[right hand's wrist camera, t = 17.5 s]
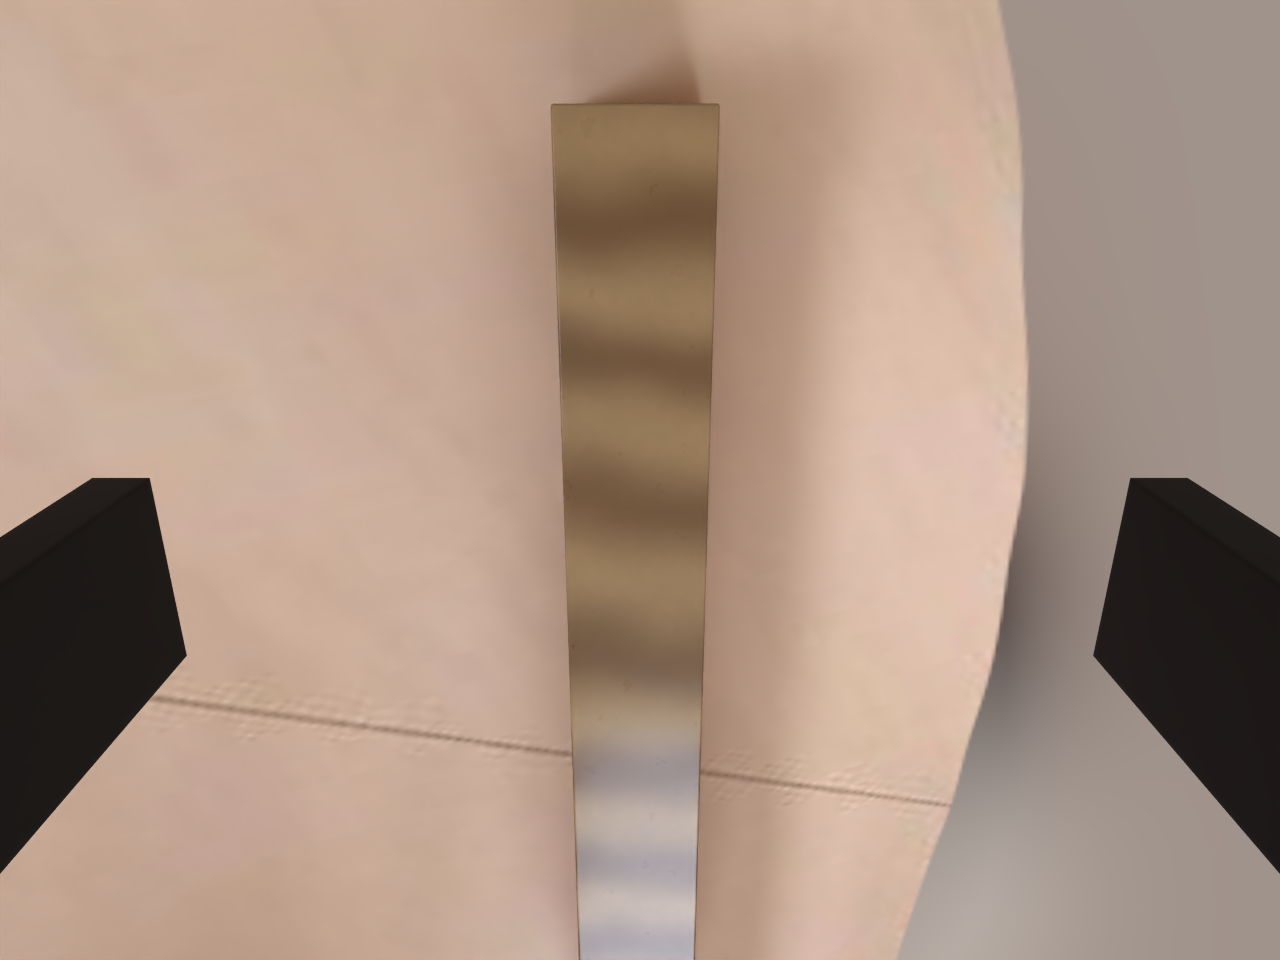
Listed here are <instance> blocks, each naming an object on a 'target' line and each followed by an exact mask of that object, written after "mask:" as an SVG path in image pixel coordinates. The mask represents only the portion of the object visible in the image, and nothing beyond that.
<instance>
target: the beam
mask: <svg viewBox="0 0 1280 960" xmlns="http://www.w3.org/2000/svg"><path fill="white" fill-rule="evenodd" d="M719 114H720V106H719V104H551V130H552V160H553V190H554V220H555V250H556V281H557V311H558V341H559V371H560V401H561V432H562V462H563V492H564V522H565V552H566V583H567V613H568V643H569V673H570V704H571V734H572V764H573V794H574V824H575V855H576V885H577V915H578V945H579V960H695V933H696V899H697V865H698V831H699V796H700V762H701V728H702V694H703V660H704V626H705V592H706V558H707V524H708V489H709V455H710V421H711V387H712V353H713V319H714V285H715V251H716V217H717V183H718V148H719Z"/></svg>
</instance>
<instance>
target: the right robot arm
mask: <svg viewBox="0 0 1280 960" xmlns="http://www.w3.org/2000/svg"><path fill="white" fill-rule="evenodd" d="M186 656H187V655H186V650H185V645H184V640H183V636H182V631H181V626H180V621H179V616H178V612H177V607H176V602H175V597H174V593H173V588H172V583H171V578H170V573H169V569H168V564H167V559H166V554H165V549H164V545H163V540H162V535H161V530H160V526H159V521H158V516H157V511H156V506H155V502H154V497H153V492H152V487H151V482H150V478H92V479H90V480H89V481H87V482H85V483H84V484H82V485H81V486H79V487H78V488H76V489H75V490H73V491H71V492H70V493H68V494H67V495H65V496H64V497H62V498H61V499H59V500H57V501H56V502H54V503H53V504H51V505H50V506H48V507H47V508H45V509H43V510H42V511H40V512H39V513H37V514H36V515H34V516H33V517H31V518H29V519H28V520H26V521H25V522H23V523H22V524H20V525H19V526H17V527H15V528H14V529H12V530H11V531H9V532H8V533H6V534H5V535H3V536H1V537H0V873H1V872H2V871H3V870H4V869H5V867H6V866H7V865H8V864H9V863H10V862H11V860H12V859H13V858H14V857H15V856H16V855H17V853H18V852H19V851H20V850H21V849H22V848H23V846H24V845H25V844H26V843H27V842H28V841H29V839H30V838H31V837H32V836H33V835H34V834H35V832H36V831H37V830H38V829H39V828H40V827H41V825H42V824H43V823H44V822H45V821H46V820H47V818H48V817H49V816H50V815H51V814H52V813H53V811H54V810H55V809H56V808H57V807H58V806H59V804H60V803H61V802H62V801H63V800H64V799H65V797H66V796H67V795H68V794H69V793H70V791H71V790H72V789H73V788H74V787H75V786H76V784H77V783H78V782H79V781H80V780H81V779H82V777H83V776H84V775H85V774H86V773H87V772H88V770H89V769H90V768H91V767H92V766H93V765H94V763H95V762H96V761H97V760H98V759H99V758H100V756H101V755H102V754H103V753H104V752H105V751H106V749H107V748H108V747H109V746H110V745H111V744H112V742H113V741H114V740H115V739H116V738H117V737H118V735H119V734H120V733H121V732H122V731H123V730H124V728H125V727H126V726H127V725H128V724H129V723H130V721H131V720H132V719H133V718H134V717H135V716H136V714H137V713H138V712H139V711H140V710H141V709H142V707H143V706H144V705H145V704H146V703H147V702H148V700H149V699H150V698H151V697H152V696H153V695H154V693H155V692H156V691H157V690H158V689H159V687H160V686H161V685H162V684H163V683H164V682H165V680H166V679H167V678H168V677H169V676H170V675H171V673H172V672H173V671H174V670H175V669H176V668H177V666H178V665H179V664H180V663H181V662H182V661H183V659H184V658H185V657H186ZM1093 656H1094V657H1095V658H1096V659H1097V661H1098V662H1099V663H1100V664H1101V665H1102V666H1103V668H1104V669H1105V670H1106V671H1107V672H1108V673H1109V675H1110V676H1111V677H1112V678H1113V679H1114V680H1115V682H1116V683H1117V684H1118V685H1119V686H1120V687H1121V689H1122V690H1123V691H1124V692H1125V693H1126V694H1127V696H1128V697H1129V698H1130V699H1131V700H1132V702H1133V703H1134V704H1135V705H1136V706H1137V707H1138V709H1139V710H1140V711H1141V712H1142V713H1143V714H1144V716H1145V717H1146V718H1147V719H1148V720H1149V721H1150V723H1151V724H1152V725H1153V726H1154V727H1155V728H1156V730H1157V731H1158V732H1159V733H1160V734H1161V735H1162V737H1163V738H1164V739H1165V740H1166V741H1167V742H1168V744H1169V745H1170V746H1171V747H1172V748H1173V749H1174V751H1175V752H1176V753H1177V754H1178V755H1179V756H1180V758H1181V759H1182V760H1183V761H1184V762H1185V763H1186V765H1187V766H1188V767H1189V768H1190V769H1191V770H1192V772H1193V773H1194V774H1195V775H1196V776H1197V777H1198V779H1199V780H1200V781H1201V782H1202V783H1203V784H1204V786H1205V787H1206V788H1207V789H1208V790H1209V792H1210V793H1211V794H1212V795H1213V796H1214V797H1215V798H1216V800H1217V801H1218V802H1219V803H1220V804H1221V806H1222V807H1223V808H1224V809H1225V810H1226V811H1227V813H1228V814H1229V815H1230V816H1231V817H1232V818H1233V820H1234V821H1235V822H1236V823H1237V824H1238V825H1239V827H1240V828H1241V829H1242V830H1243V831H1244V832H1245V834H1246V835H1247V836H1248V837H1249V838H1250V839H1251V841H1252V842H1253V843H1254V844H1255V845H1256V846H1257V848H1258V849H1259V850H1260V851H1261V852H1262V853H1263V855H1264V856H1265V857H1266V858H1267V859H1268V860H1269V862H1270V863H1271V864H1272V865H1273V866H1274V867H1275V869H1276V870H1277V871H1278V872H1279V873H1280V537H1279V536H1277V535H1275V534H1274V533H1272V532H1271V531H1269V530H1268V529H1266V528H1265V527H1263V526H1261V525H1260V524H1258V523H1257V522H1255V521H1254V520H1252V519H1251V518H1249V517H1247V516H1246V515H1244V514H1243V513H1241V512H1240V511H1238V510H1237V509H1235V508H1233V507H1232V506H1230V505H1229V504H1227V503H1226V502H1224V501H1223V500H1221V499H1219V498H1218V497H1216V496H1215V495H1213V494H1212V493H1210V492H1209V491H1207V490H1205V489H1204V488H1202V487H1201V486H1199V485H1198V484H1196V483H1195V482H1193V481H1191V480H1190V479H1188V478H1130V482H1129V487H1128V492H1127V497H1126V502H1125V507H1124V511H1123V516H1122V521H1121V526H1120V531H1119V535H1118V540H1117V545H1116V550H1115V554H1114V559H1113V564H1112V569H1111V573H1110V578H1109V583H1108V588H1107V593H1106V597H1105V602H1104V607H1103V612H1102V616H1101V621H1100V626H1099V631H1098V636H1097V640H1096V645H1095V650H1094V655H1093Z"/></svg>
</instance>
